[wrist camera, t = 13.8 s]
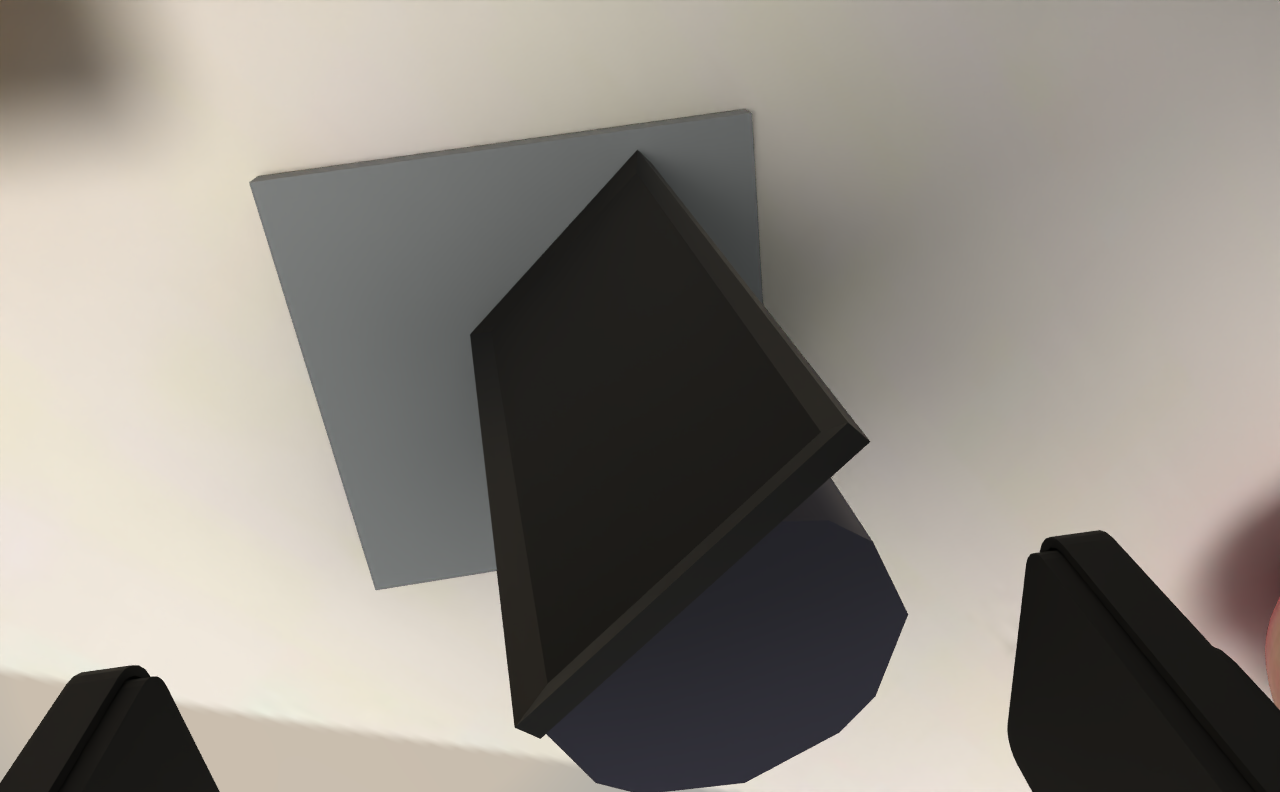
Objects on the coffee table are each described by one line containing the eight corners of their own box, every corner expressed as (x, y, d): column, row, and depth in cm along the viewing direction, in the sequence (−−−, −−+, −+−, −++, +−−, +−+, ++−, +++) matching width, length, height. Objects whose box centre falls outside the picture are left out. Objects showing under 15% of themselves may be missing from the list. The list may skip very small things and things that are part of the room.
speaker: (394, 278, 18) (350, 641, 9) (643, 144, 18) (849, 386, 9) (566, 526, 22) (652, 950, 13) (772, 420, 22) (1005, 781, 13)
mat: (745, 109, 18) (751, 112, 18) (769, 513, 22) (775, 525, 22) (257, 176, 18) (249, 182, 17) (379, 575, 22) (375, 590, 21)
